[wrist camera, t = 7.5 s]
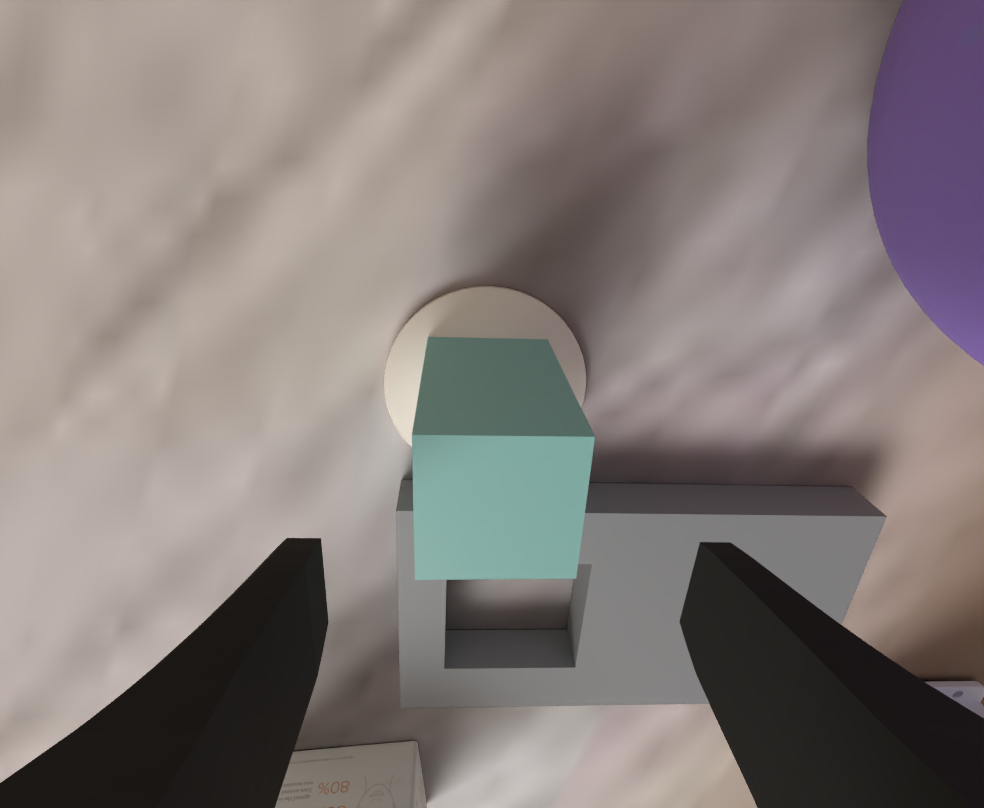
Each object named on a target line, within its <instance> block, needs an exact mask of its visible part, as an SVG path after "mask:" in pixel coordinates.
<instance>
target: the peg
mask: <svg viewBox="0 0 984 808" xmlns="http://www.w3.org/2000/svg"><path fill="white" fill-rule="evenodd" d="M594 441H595V436H594V434H593V432H592V429H591V427H590V425H589V423H588V421H587V419H586V417H585V415H584V413H583V411H582V409H581V407H580V405H579V403H578V401H577V399H576V397H575V395H574V392H573V390H572V388H571V386H570V384H569V382H568V380H567V378H566V376H565V374H564V372H563V370H562V368H561V366H560V364H559V362H558V360H557V358H556V355H555V353H554V351H553V349H552V347H551V345H550V343H549V341H548V339H509V338H463V337H428V339H427V345H426V351H425V357H424V363H423V369H422V375H421V382H420V388H419V394H418V400H417V406H416V412H415V418H414V425H413V431H412V468H413V514H414V561H415V580H470V579H576V576H577V569H578V561H579V554H580V546H581V539H582V531H583V523H584V516H585V508H586V501H587V493H588V486H589V478H590V471H591V463H592V456H593V448H594Z"/></svg>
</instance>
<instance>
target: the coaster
mask: <svg viewBox="0 0 984 808" xmlns="http://www.w3.org/2000/svg"><path fill="white" fill-rule="evenodd" d="M428 337H463V338H509V339H548V341H549V343H550V345H551V347H552V349H553V351H554V353H555V355H556V358H557V360H558V362H559V364H560V366H561V368H562V370H563V372H564V374H565V376H566V378H567V380H568V382H569V384H570V386H571V388H572V390H573V392H574V395H575V397H576V399H577V401H578V403H579V405H580V407H581V408H582V405H583V401H584V397H585V391H586V370H585V364H584V359H583V355H582V352H581V350H580V347H579V344H578V342H577V341H576V339H575V337H574V335H573V333H572V332H571V330H570V329H569V327H568V326H567V325H566V323H565V322H564V321H563V319H562V318H561V317H560V316H559V315H558V314H557V313H556V312H555V311H554V310H553V309H551V308H550V307H549V306H547V305H546V304H545V303H543V302H542V301H540V300H538V299H536V298H535V297H533V296H531V295H528V294H526V293H523V292H521V291H518V290H514V289H510V288H506V287H498V286H474V287H467V288H462V289H459V290H455V291H452V292H449V293H447V294H444V295H442V296H440V297H437V298H436V299H434V300H432V301H431V302H429V303H428V304H426V305H425V306H423V307H422V308H421V309H420V310H418V311H417V312H416V313H415V314H414V315H413V316H412V317H411V318H410V319H409V320H408V321H407V322H406V324H405V325H404V326H403V328H402V329H401V331H400V332H399V334H398V335H397V337H396V339H395V341H394V343H393V345H392V348H391V351H390V354H389V357H388V360H387V364H386V369H385V377H384V390H385V399H386V403H387V407H388V411H389V413H390V416H391V418H392V421H393V423H394V424H395V426H396V428H397V430H398V431H399V433H400V434H401V436H402V437H403V438H404V439H405V441H406V442H407V443H408V444H409V445H410V446H411V447H412V431H413V425H414V418H415V412H416V406H417V400H418V394H419V388H420V382H421V375H422V369H423V363H424V357H425V351H426V345H427V339H428Z"/></svg>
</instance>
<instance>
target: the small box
mask: <svg viewBox="0 0 984 808" xmlns="http://www.w3.org/2000/svg"><path fill="white" fill-rule="evenodd" d="M275 808H427V803H426V795H425V788H424V781H423V775H422V768H421V761H420V755H419V749H418V744H417V742H416V741H406V742H395V743H384V744H372V745H361V746H350V747H339V748H328V749H317V750H306V751H295V752H293V754H292V757H291V760H290V763H289V766H288V769H287V772H286V775H285V778H284V781H283V784H282V787H281V790H280V793H279V796H278V799H277V803H276V806H275Z"/></svg>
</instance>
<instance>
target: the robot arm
mask: <svg viewBox="0 0 984 808" xmlns="http://www.w3.org/2000/svg"><path fill="white" fill-rule="evenodd" d="M679 622H680V625H681V629H682V632H683V635H684V639H685V642H686V645H687V648H688V652H689V654H690V657H691V660H692V663H693V666H694V669H695V672H696V675H697V677H698V679H699V682H700V684H701V686H702V688H703V690H704V693H705V695H706V697H707V699H708V701H709V704H710V706H711V708H712V710H713V712H714V715H715V717H716V719H717V721H718V723H719V725H720V727H721V730H722V732H723V734H724V736H725V738H726V740H727V742H728V744H729V747H730V749H731V751H732V753H733V755H734V757H735V759H736V762H737V764H738V766H739V768H740V770H741V772H742V774H743V777H744V779H745V781H746V783H747V785H748V787H749V789H750V792H751V794H752V796H753V798H754V800H755V803H756V805H757V807H758V808H984V706H983V705H982V704H981V703H980V702H981V700H982V699H983V697H984V686H983V685H982V684H981V683H979V682H977V681H929V682H924V681H922V680H921V679H919V678H918V677H916V676H915V675H913V674H911V673H910V672H908V671H907V670H905V669H904V668H902V667H901V666H899V665H898V664H896V663H895V662H894V661H892V660H891V659H889V658H888V657H886V656H885V655H883V654H882V653H880V652H879V651H878V650H876V649H875V648H873V647H872V646H870V645H869V644H867V643H866V642H864V641H863V640H862V639H860V638H859V637H857V636H856V635H855V634H853V633H852V632H850V631H849V630H848V629H846V628H845V627H843V626H842V625H841V624H839V623H838V622H837V621H835V620H834V619H832V618H831V617H830V616H828V615H827V614H826V613H824V612H823V611H822V610H820V609H819V608H818V607H816V606H815V605H814V604H812V603H811V602H810V601H808V600H807V599H806V598H804V597H803V596H802V595H800V594H799V593H798V592H797V591H795V590H794V589H793V588H791V587H790V586H789V585H787V584H786V583H785V582H783V581H782V580H781V579H780V578H778V577H777V576H776V575H774V574H773V573H772V572H770V571H769V570H768V569H767V568H765V567H764V566H763V565H761V564H760V563H759V562H757V561H756V560H755V559H753V558H752V557H751V556H749V555H748V554H746V553H745V552H744V551H742V550H741V549H739V548H738V547H737V546H735V545H734V544H732V543H731V542H700V544H699V547H698V551H697V555H696V559H695V563H694V567H693V571H692V575H691V579H690V582H689V586H688V590H687V594H686V598H685V602H684V606H683V610H682V613H681V617H680V621H679ZM327 626H328V613H327V602H326V591H325V579H324V568H323V557H322V546H321V538H287V539H286V540H285V541H283V542H282V543H281V544H280V545H279V546H278V547H277V548H276V549H275V550H274V551H273V552H272V553H271V554H270V556H269V557H268V558H267V559H266V560H265V561H264V562H263V563H262V564H261V565H260V566H259V567H258V568H257V569H256V570H255V571H254V572H253V573H252V574H251V575H250V576H249V577H248V579H247V580H246V581H245V582H244V583H243V584H242V585H241V586H240V587H239V588H238V589H237V590H236V591H235V592H234V593H233V594H232V595H231V596H230V597H229V598H228V599H227V600H226V601H225V602H224V603H223V604H222V605H221V606H220V607H219V608H218V609H216V610H215V611H214V612H213V613H212V614H211V615H210V616H209V617H208V618H207V619H206V620H205V621H204V622H203V623H202V624H201V625H200V626H199V627H198V628H197V629H196V630H195V631H194V632H193V633H191V634H190V635H189V636H188V637H187V638H186V639H185V640H184V641H183V642H181V643H180V644H179V645H178V646H177V647H176V648H175V649H174V650H173V651H171V652H170V653H169V654H168V655H167V656H166V657H165V658H164V659H163V660H161V661H160V662H159V663H158V664H157V665H156V666H155V667H154V668H152V669H151V670H150V671H149V672H148V673H147V674H145V675H144V676H143V677H142V678H141V679H139V680H138V681H137V682H136V683H135V684H134V685H132V686H131V687H130V688H129V689H127V690H126V691H125V692H124V693H123V694H121V695H120V696H119V697H118V698H116V699H115V700H114V701H113V702H111V703H110V704H109V705H108V706H106V707H105V708H104V709H102V710H101V711H100V712H99V713H97V714H96V715H95V716H94V717H92V718H91V719H90V720H88V721H87V722H86V723H84V724H83V725H82V726H80V727H79V728H78V729H76V730H75V731H74V732H72V733H71V734H69V735H68V736H67V737H65V738H64V739H62V740H61V741H59V742H58V743H57V744H55V745H54V746H52V747H51V748H50V749H48V750H47V751H45V752H44V753H42V754H41V755H40V756H38V757H37V758H35V759H34V760H33V761H31V762H30V763H28V764H27V765H25V766H24V767H23V768H21V769H20V770H18V771H17V772H15V773H14V774H13V775H11V776H10V777H8V778H7V779H6V780H4V781H3V782H1V783H0V808H275V806H276V803H277V799H278V796H279V793H280V790H281V787H282V784H283V781H284V778H285V775H286V772H287V769H288V766H289V763H290V760H291V757H292V754H293V750H294V747H295V744H296V741H297V738H298V735H299V732H300V729H301V726H302V723H303V720H304V717H305V714H306V710H307V707H308V704H309V701H310V698H311V695H312V692H313V689H314V685H315V682H316V679H317V675H318V671H319V666H320V661H321V657H322V652H323V647H324V642H325V637H326V632H327Z"/></svg>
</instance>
